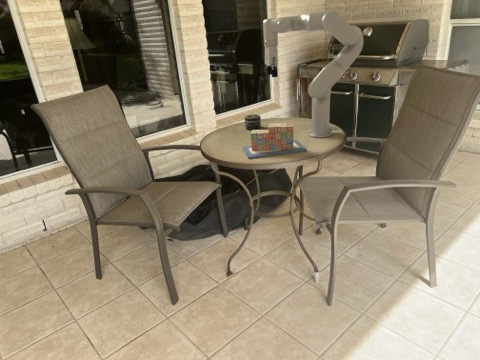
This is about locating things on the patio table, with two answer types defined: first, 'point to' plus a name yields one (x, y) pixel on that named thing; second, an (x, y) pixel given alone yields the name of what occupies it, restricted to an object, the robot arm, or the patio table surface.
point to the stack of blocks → (273, 137)
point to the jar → (252, 122)
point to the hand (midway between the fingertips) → (272, 75)
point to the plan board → (273, 151)
